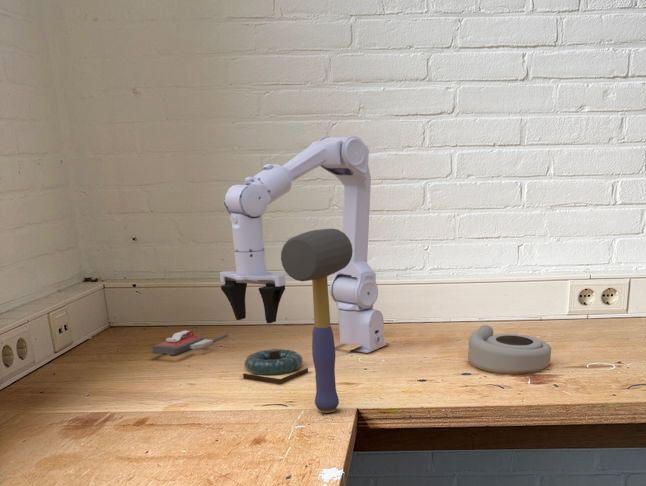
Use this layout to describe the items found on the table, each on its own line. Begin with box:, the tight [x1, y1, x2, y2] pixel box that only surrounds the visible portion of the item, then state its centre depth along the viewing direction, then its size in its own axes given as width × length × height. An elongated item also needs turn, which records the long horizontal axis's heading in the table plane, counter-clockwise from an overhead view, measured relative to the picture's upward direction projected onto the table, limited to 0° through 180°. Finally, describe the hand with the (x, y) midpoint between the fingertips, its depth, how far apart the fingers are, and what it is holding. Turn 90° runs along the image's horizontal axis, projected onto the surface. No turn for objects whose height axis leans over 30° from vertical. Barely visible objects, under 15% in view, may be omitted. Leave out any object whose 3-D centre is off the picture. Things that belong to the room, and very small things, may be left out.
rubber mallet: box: [280, 228, 353, 414], centre depth 130 cm, size 12×8×30 cm, turn 157°
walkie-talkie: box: [151, 330, 229, 357], centre depth 177 cm, size 9×4×20 cm
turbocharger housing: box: [467, 324, 552, 375], centre depth 159 cm, size 17×6×15 cm
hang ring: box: [244, 348, 303, 376], centre depth 156 cm, size 11×11×3 cm
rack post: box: [242, 348, 309, 385], centre depth 156 cm, size 9×9×5 cm
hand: (255, 320), depth 156 cm, fingers open, 7 cm apart
